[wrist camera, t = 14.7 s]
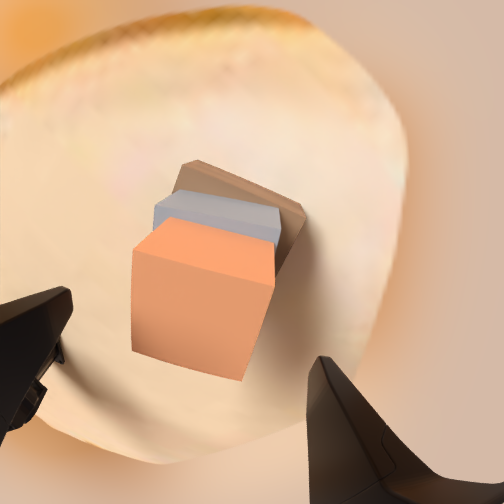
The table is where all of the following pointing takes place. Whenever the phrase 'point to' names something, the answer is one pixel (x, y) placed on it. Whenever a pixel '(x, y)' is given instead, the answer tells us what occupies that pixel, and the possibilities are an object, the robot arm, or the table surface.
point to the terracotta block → (200, 296)
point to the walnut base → (244, 199)
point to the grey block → (221, 214)
